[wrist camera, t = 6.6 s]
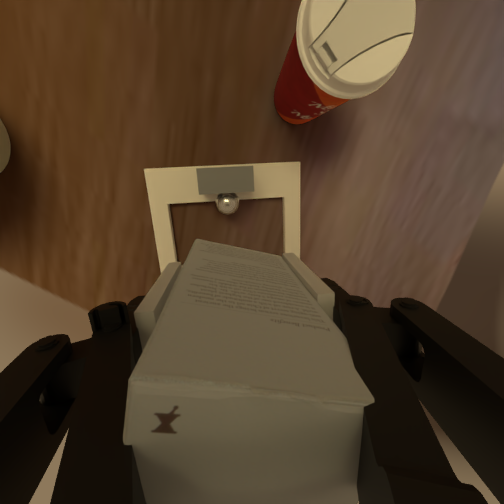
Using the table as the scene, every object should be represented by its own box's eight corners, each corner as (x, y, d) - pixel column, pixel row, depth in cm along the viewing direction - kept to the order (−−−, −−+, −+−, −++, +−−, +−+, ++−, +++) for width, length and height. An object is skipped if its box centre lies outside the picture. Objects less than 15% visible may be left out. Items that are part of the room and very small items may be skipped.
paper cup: (292, 148, 29) (349, 119, 16) (250, 92, 27) (276, 4, 14) (342, 102, 29) (447, 30, 15) (304, 41, 27) (386, -106, 13)
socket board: (146, 169, 28) (128, 166, 23) (297, 162, 30) (313, 157, 25) (166, 295, 33) (156, 316, 27) (297, 282, 34) (311, 300, 29)
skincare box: (184, 296, 17) (99, 536, 5) (195, 236, 16) (119, 374, 4) (268, 309, 18) (350, 537, 6) (284, 254, 17) (414, 406, 5)
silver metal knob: (213, 172, 27) (212, 171, 25) (236, 171, 27) (237, 170, 25) (217, 213, 28) (216, 216, 26) (239, 212, 29) (240, 215, 26)
